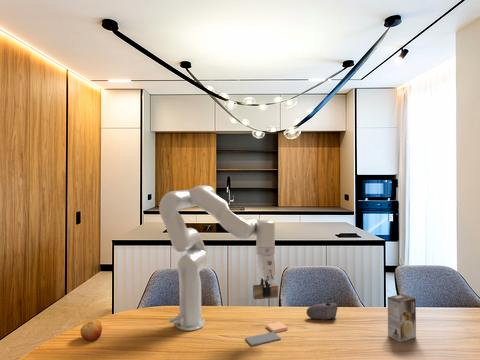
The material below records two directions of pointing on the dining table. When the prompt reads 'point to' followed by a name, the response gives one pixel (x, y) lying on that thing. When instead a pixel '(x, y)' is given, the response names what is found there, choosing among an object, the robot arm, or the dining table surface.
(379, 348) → the dining table surface
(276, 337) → the mat
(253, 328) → the dining table surface
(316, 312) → the perforated stone tool
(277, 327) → the tile
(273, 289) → the brown rectangular pillar
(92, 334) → the fruit
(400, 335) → the coffee box
